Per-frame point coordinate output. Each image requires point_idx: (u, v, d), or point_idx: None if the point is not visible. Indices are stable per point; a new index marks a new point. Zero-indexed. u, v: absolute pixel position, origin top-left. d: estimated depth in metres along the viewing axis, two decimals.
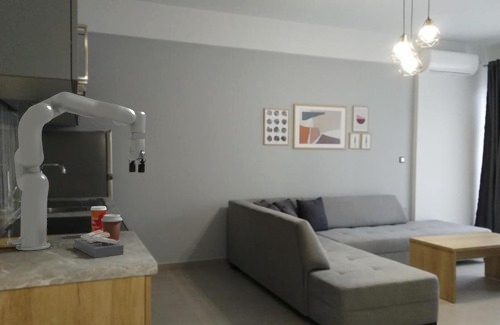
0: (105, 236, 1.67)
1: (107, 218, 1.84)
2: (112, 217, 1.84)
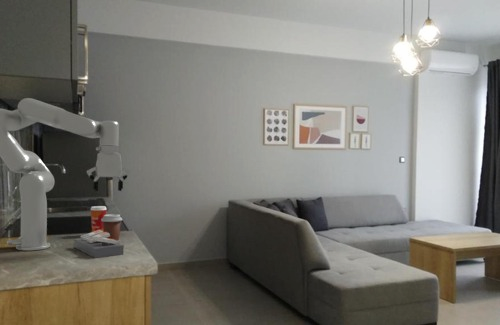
0: (105, 236, 1.67)
1: (107, 218, 1.84)
2: (112, 217, 1.84)
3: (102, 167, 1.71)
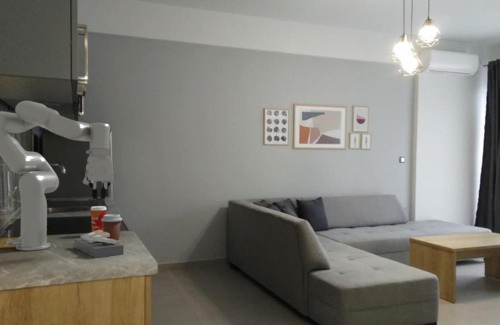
0: (105, 236, 1.67)
1: (107, 218, 1.84)
2: (112, 217, 1.84)
3: (94, 171, 1.64)
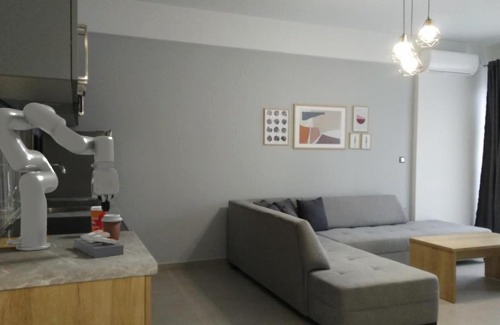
0: (105, 236, 1.67)
1: (107, 218, 1.84)
2: (112, 217, 1.84)
3: (99, 184, 1.65)
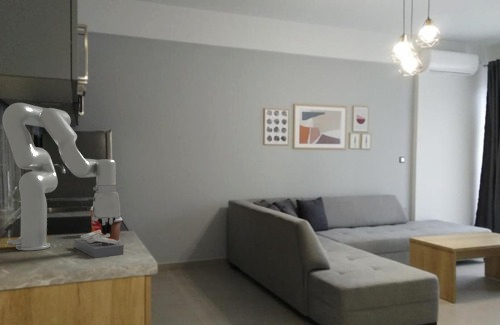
0: (105, 236, 1.67)
1: None
2: None
3: (101, 208, 1.66)
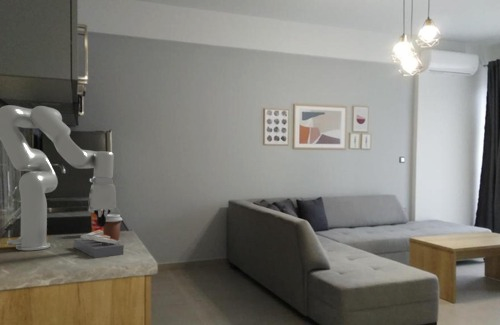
0: None
1: (107, 218, 1.84)
2: (112, 217, 1.84)
3: (97, 199, 1.66)
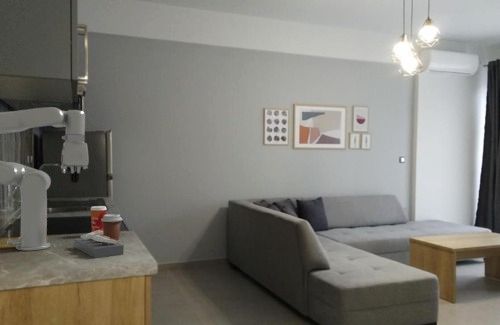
0: None
1: (107, 218, 1.84)
2: (112, 217, 1.84)
3: (69, 156, 1.72)
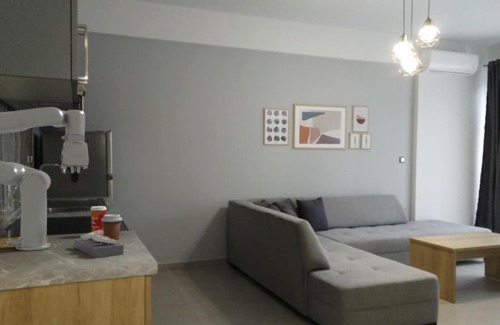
0: None
1: (107, 218, 1.84)
2: (112, 217, 1.84)
3: (69, 156, 1.72)
